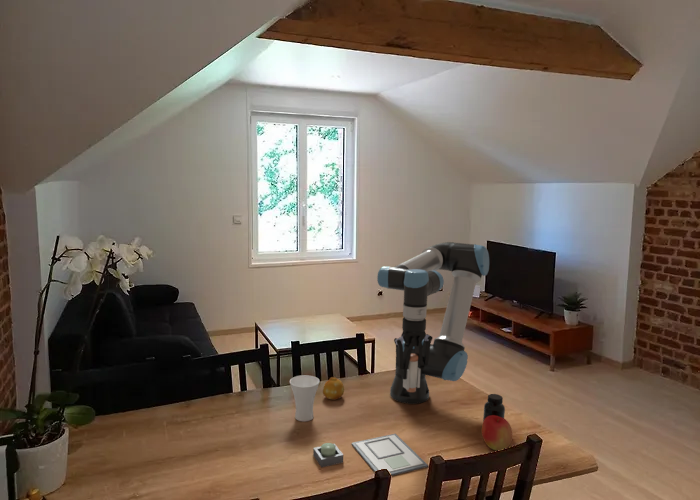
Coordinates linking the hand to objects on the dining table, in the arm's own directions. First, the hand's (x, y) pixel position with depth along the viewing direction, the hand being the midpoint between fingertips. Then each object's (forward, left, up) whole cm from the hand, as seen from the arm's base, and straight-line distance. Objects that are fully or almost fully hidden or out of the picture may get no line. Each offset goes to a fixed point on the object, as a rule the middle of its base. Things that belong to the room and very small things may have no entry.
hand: (411, 387), depth 171 cm
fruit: (-36, -13, -17) cm, 42 cm away
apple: (+18, +22, -17) cm, 33 cm away
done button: (+4, -30, -17) cm, 35 cm away
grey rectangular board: (+9, -12, -17) cm, 23 cm away
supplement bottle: (+8, +29, -17) cm, 34 cm away
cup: (-24, -28, -17) cm, 41 cm away
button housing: (+4, -30, -17) cm, 35 cm away
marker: (0, 0, -1) cm, 1 cm away
